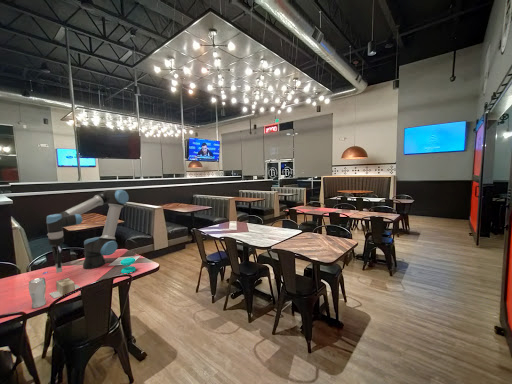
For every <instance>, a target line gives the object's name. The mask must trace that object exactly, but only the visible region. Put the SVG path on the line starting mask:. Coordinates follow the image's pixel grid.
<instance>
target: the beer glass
mask: <svg viewBox="0 0 512 384" xmlns="http://www.w3.org/2000/svg"><path fill="white" fill-rule="evenodd" d="M46 289H47V284H46V278H45V277H37V278H33V279H31V280H30V281H29V282H28V293H29V296H30V298H31V302H32V303H31V309H39V308H41V307H44V306H45V305H47V301H46Z"/></svg>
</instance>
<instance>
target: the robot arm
mask: <svg viewBox="0 0 512 384" xmlns="http://www.w3.org/2000/svg"><path fill="white" fill-rule="evenodd" d="M129 199H130V198H129V194H128V192H127V191H126V190H123V189H108V190H104V191H102V192H99V193H98V194H96V195H95V194H94V196H93V197H92V198H89V199H87V200H85V201H84V202H80V203H79V204H77V205H74V206H72V207H70V208H68V209H66V210H64V211H61V212H60V213H54V214H49V215H47V216H46V227H47V228H46V230H47V234H46V236H48V245H49V246H51V250H52V258H53V262H54V264H55V271H56V272H55V273H56V274H58V273H59V274H60V273H61V272H62V273H63V265H62V263H63V250H64V249H63V247H62V245H61V244H63V243H64V242H65V237H64V228H67V227H71V226H78V225H79V224H80V225H81V223H82V222H83V217H82V215H83V214H85V213H87V212H89V211H90V210H93V209H95V208H96V207H99V206H103V205H106V204H107V205H108V207H109V208H108V211H107V215H106V220H105V223H104V227H103V230H102V235H101V236H95V237H92V238H87V239H85V240H84V241H83V246H84V260H83V264H82V268H83V269H84V270H92V269H96V268H100V267H102V266H105V265H106V260H105V259H106V258H104V256H111V255H113V254H114V253H115V252H116V251H117V249H118V243H117V242H116V240H117V239H116V237H115V235H116V231H117V227H118V223H119V218H120V214H121V211H122V208H124V206H125V204H127V203H128V202H129Z"/></svg>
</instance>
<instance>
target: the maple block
mask: <svg viewBox="0 0 512 384" xmlns="http://www.w3.org/2000/svg"><path fill="white" fill-rule="evenodd" d="M55 282H56V284H55V285H56V291H58V292H59V293H61V294H62V295H64V296H66V295H65V294H67V293H69V292H71V291H73V290H75V285H76V284H75V281H73V280H72V279H71V278H69V277H66V278H63V279H60V280H57V281H55ZM67 295H68V294H67Z"/></svg>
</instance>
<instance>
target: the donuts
mask: <svg viewBox="0 0 512 384" xmlns="http://www.w3.org/2000/svg"><path fill="white" fill-rule="evenodd" d="M135 262H136V259H135V258H134V257H126V258H123V259H121V260H120V265H121V266H123V268H122V269H121V271H120V273H121V274H122V273H123V274H122V275H125V274H124V273H127V274H126V275H129V274H128V273H130V272H133V271H134V272H135V271H136V270H137V268H136V267H135V266H134V265H133V264H135ZM124 266H125V267H124ZM134 272H133V273H134ZM130 274H131V273H130Z"/></svg>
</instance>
